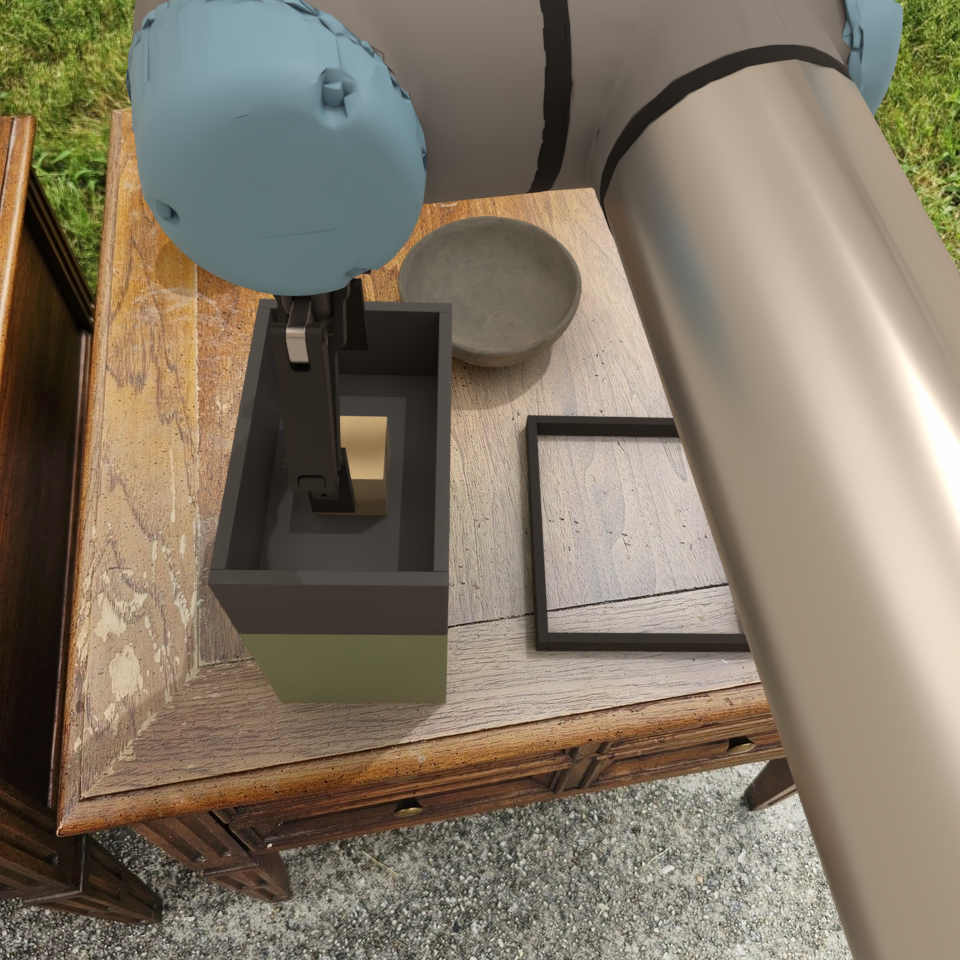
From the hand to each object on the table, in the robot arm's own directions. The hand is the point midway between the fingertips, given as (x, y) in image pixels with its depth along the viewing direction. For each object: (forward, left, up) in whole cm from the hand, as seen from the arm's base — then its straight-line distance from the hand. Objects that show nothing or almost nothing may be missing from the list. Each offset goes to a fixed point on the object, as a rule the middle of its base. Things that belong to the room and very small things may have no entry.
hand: (343, 422), depth 55 cm
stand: (0, 0, -28) cm, 28 cm away
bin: (0, 0, -10) cm, 10 cm away
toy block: (0, 0, -9) cm, 9 cm away
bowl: (+34, -12, -28) cm, 46 cm away
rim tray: (+6, -27, -28) cm, 39 cm away
